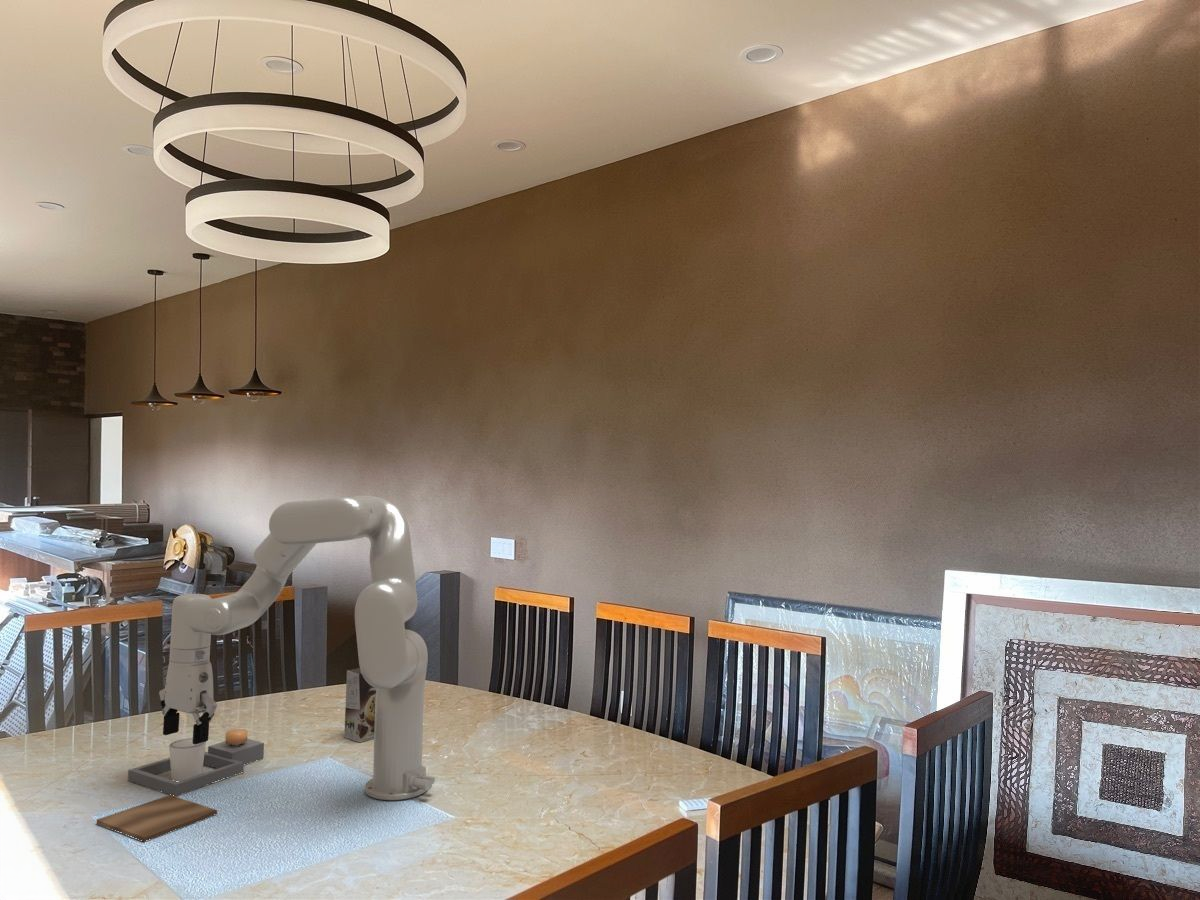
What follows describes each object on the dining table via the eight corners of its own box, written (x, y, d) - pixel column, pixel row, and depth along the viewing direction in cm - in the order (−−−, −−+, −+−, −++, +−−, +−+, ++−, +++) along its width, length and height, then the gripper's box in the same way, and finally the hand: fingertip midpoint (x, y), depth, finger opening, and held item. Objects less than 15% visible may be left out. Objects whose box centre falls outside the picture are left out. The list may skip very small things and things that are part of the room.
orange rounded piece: (251, 751, 186) (251, 731, 186) (233, 757, 183) (234, 736, 183) (238, 747, 189) (238, 727, 189) (220, 753, 185) (221, 733, 185)
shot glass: (194, 783, 172) (196, 748, 172) (161, 782, 172) (162, 747, 172) (211, 771, 179) (212, 738, 179) (178, 770, 179) (179, 737, 179)
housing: (274, 762, 185) (275, 745, 185) (175, 796, 165) (175, 778, 165) (228, 749, 193) (229, 734, 193) (128, 780, 172) (128, 763, 173)
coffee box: (360, 743, 199) (362, 674, 200) (343, 737, 203) (345, 669, 203) (391, 734, 206) (393, 667, 207) (374, 729, 210) (376, 663, 211)
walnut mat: (217, 814, 157) (217, 810, 157) (144, 842, 144) (144, 837, 144) (169, 798, 164) (170, 794, 164) (96, 824, 151) (96, 819, 151)
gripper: (233, 657, 175) (228, 741, 175) (180, 646, 184) (176, 726, 183) (200, 664, 169) (195, 751, 168) (147, 651, 177) (142, 734, 177)
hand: (185, 738), depth 176 cm, fingers open, 9 cm apart
